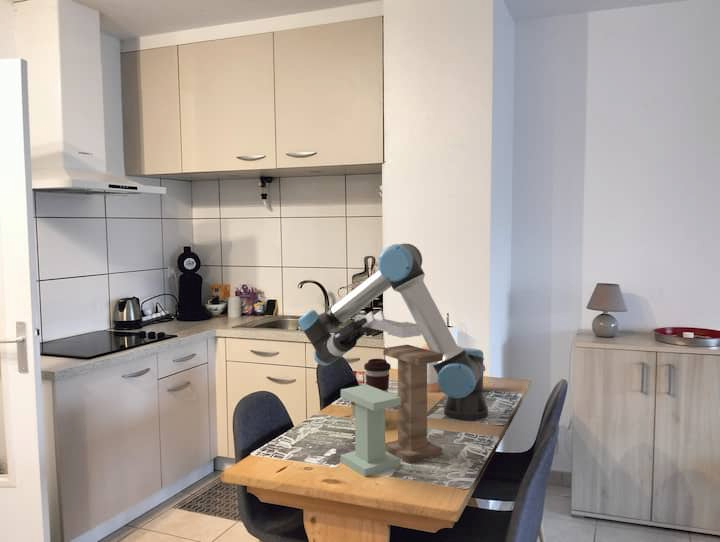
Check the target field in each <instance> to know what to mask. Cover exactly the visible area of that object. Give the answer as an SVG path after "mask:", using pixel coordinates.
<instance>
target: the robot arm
mask: <svg viewBox="0 0 720 542" xmlns="http://www.w3.org/2000/svg"><path fill="white" fill-rule="evenodd" d="M422 255H423V254H422V252H421V251H420V250H419V249H418V248H417V247H416V246H415V245H414V244H410V243H395V244H392V245H390V246H387V247H386V248H384V249H383V250H382V251H381V253H380V254H379V257H378V260H377V268H378V269H377V270H376V271H375V272H374V273H372V274H371V275H370V276H368V277H367V278H366V279H364V280H363V281H362V282H361V283H360V284H359V285H357V286H356V287H354V288H353V289H352V290H351V291H350V292H349V293H347V294H346V295H344V296H343V297H342V298H341V299H339V300H338V301H337V302H335V303H334V304H333V305H332V306H330V307H329V308H328V309H326V310H325V311H324V312H322V313H320V314H319V313H318V312H317V311H316V310H314V309H311V310H309V311H308V312H305V314H302V316H300V317H299V318H298V321H297V323H298V324H299V327H300V328H301V331H303V333H304V334H305V336H306V337H307V339H308V340H309V342H310V344H311V345H312V346H313V348H314V352H313V357H314V360H315V362H316V363H317V364H318V365H320V366H324V367H326V366H329V365H332V364H334V362H336V361H337V360H339V359H340V358H343V357H344V355H345V354H346V353H348V352H349V351H351V350H352V349H354V348H355V347H356V346H357V342H358V340H360V339H361V338H362V337H364V336H366V337H370V335H371V334H372V333H373V332H374V331H376V329H372V328H368V327H366V326H367V325H368V324H370V323H371V322H372V321H374V320H375V318H374V317H377V318H382V319H385V314H384V312H383V310H379V311H378V312H376V313H375V314H374V312H373V311H369V312H368V313H367V314H364V315H365V316H364V317H363V318H362V319H360V320H357V321H356V322H355V321H351V322H349V323H348V324H346V325H345V326H343V327H342V328H340V327H341V326H342V325H343V324H344V323H345V322H347V321H348V320H349V319H351V318H353V316H355V315H357V313H358V312H359V311H361V310H362V309H364V308H365V307H366V306H368V305H369V304H370V303H371V302H373V301H374V300H376V299H377V298H378V297H379V296H380V295H382V294H384V293H385V292H386V291H387V290H388V289H390V288H392V290H393V291H395V292H397V293H399V294H400V295H401V297H402V300H403V301H404V302H405V305H406V306H407V309H408V310H409V313H410V315H411V316H412V318H413V320H414V322H415V324H418V325H421V336H422V337H423V340H424V341H425V344H427V345H428V347H429V349H430V351H434V352H438V353H442V354H443V361H439V362H433V367H434V369H435V370H436V372H437V374H438V385H439V390H441V392H442V393H443V394H445V395H446V400H445V403H444V405H443V414H444V415H445V417H448V418H451V419H454V420H459V421H480V420H483V419H486V418H487V417H488V416H489V408H488V404H487V401H486V398H485V395H484V373H483V364H484V360H485V357H484V352H483V350H481V349H476V348H469V347H467V348H464V347H462V346H459V345H458V344H457V342H456V340H455V338H454V337H453V335H452V332H451V331H450V329H449V327H448V325H447V323H446V322H445V320H444V317H443V315H442V314H441V312H440V310H439V308H438V306H437V305H436V302H435V301H434V299H433V297H432V294H431V293H430V291H429V289H428V287H427V285H426V283H425V281H424V279H425V276H426V274H425V272H424V270H423V268H422V266H423V256H422ZM339 328H340V329H339ZM338 329H339V330H338ZM336 330H337V331H336ZM332 332H333V335H332V334H331V333H332Z"/></svg>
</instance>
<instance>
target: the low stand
mask: <svg viewBox="0 0 720 542" xmlns="http://www.w3.org/2000/svg"><path fill="white" fill-rule="evenodd" d="M340 397H341V398H343V399H345V400H347V401H350V402H351V401H352V402H354V403H355V418H354V431H355V432H354V438H355V439H354V441H355V442H354V443H355V445H354V447H355V448H354V449H355V450H354V451H350V452H347V453H342V454H340V463H342V464H343V465H345V466H346V467H349V468H350V469H351V470H352V471H355V472H356V473H358V474H360V475H362V476H363V477H368V476H372V475H374V474H378V473H382V472H384V471H389V470H392V469H396V468H399V467H401V466H402V465H401V461H402V460H401V459H400V458H398V457H396V456H394V455H392V454H390V453H388V452H386V451H385V443H386V409H388V408H392V407H398V405H401V397H398V395H395V394H393V393H391V392H385V391H382V390H380V389H377V388H375V387H372V386H369V385H366V384H361V385H356V386H351V387H347V388H341V389H340Z"/></svg>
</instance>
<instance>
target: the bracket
mask: <svg viewBox="0 0 720 542" xmlns="http://www.w3.org/2000/svg"><path fill="white" fill-rule="evenodd" d="M365 315H366V314H363V313H362V314H354V319H355V320H354V323H355V322H356V321H357V320H360V319H362V318H363V317H364V316H365ZM374 318H375V320H374V321H372V322H371V323H370V324H368V325H367V326H366V327H368V328H372V329H376V330H377V331H381V332H385V333H387V336H388V335H390V336H393V337H398V338H401V339H405V338H406V339H407V338H411V337H412V338H413V337H421V336H422V334H421V325H418V324H416V323H413V322H408V321H404V322H400V321H395V320H390V319H386V318H384V319H382V318H377V317H374ZM376 330H375V331H376Z"/></svg>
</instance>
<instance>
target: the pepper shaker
mask: <svg viewBox="0 0 720 542" xmlns="http://www.w3.org/2000/svg"><path fill="white" fill-rule="evenodd" d="M421 348H423V349H427V350H430V349H429V347H428V345H427V343H425V344H423V345H422V346H421ZM439 391H440V387H439V385H438V374H437V372H436V370H435V369H434V367H433V363H428V364H427V393H437V392H439Z"/></svg>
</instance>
